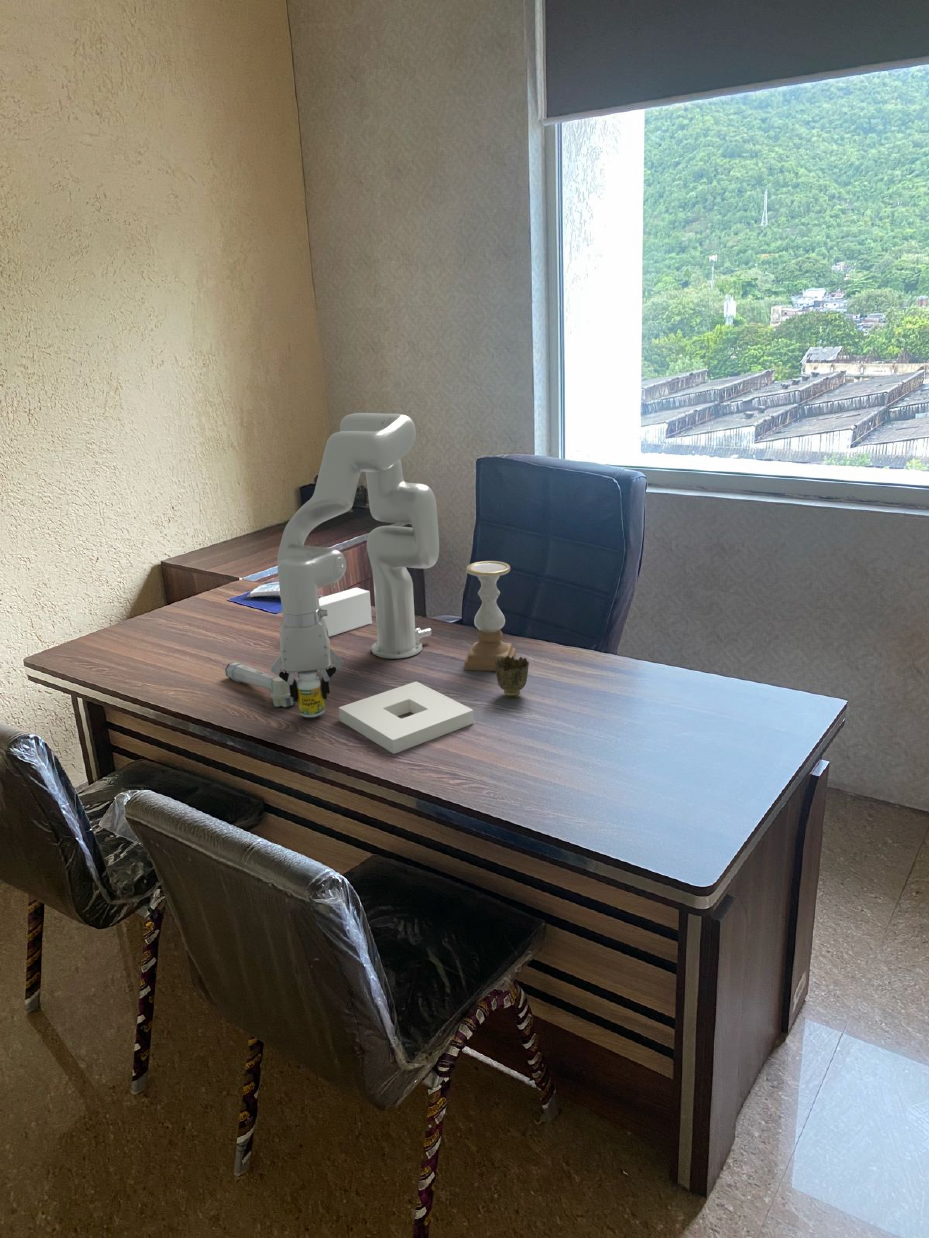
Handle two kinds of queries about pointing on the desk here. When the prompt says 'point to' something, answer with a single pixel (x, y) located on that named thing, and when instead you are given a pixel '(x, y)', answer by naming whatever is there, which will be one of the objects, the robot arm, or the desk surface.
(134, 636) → the desk surface
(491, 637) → the candle holder
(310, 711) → the supplement bottle
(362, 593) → the white box
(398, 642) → the robot arm
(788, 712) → the desk surface
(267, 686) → the toothbrush head
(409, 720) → the hole board
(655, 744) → the desk surface
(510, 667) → the cup
